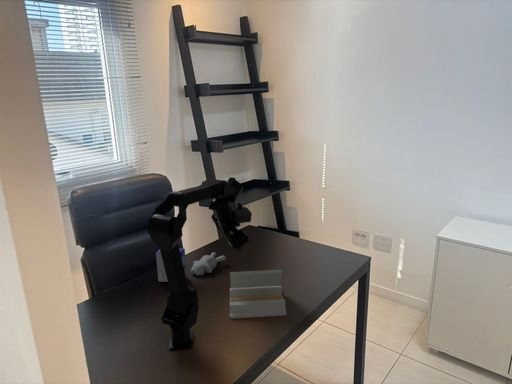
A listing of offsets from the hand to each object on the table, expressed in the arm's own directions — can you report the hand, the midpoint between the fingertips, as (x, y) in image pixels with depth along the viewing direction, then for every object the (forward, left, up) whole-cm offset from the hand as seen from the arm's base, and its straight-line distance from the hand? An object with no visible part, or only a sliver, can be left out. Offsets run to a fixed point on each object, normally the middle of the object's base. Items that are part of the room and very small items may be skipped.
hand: (235, 244), depth 131 cm
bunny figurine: (+17, +12, -18) cm, 27 cm away
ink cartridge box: (+10, +25, -18) cm, 32 cm away
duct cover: (-9, -6, -9) cm, 15 cm away
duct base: (-10, -6, -17) cm, 21 cm away
